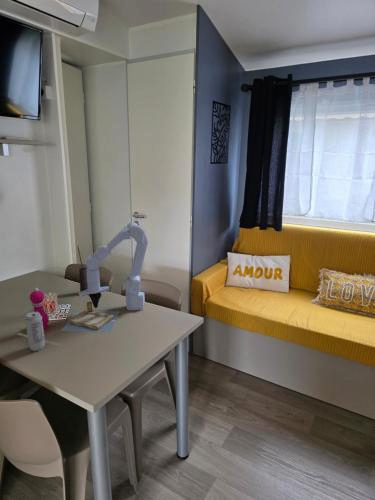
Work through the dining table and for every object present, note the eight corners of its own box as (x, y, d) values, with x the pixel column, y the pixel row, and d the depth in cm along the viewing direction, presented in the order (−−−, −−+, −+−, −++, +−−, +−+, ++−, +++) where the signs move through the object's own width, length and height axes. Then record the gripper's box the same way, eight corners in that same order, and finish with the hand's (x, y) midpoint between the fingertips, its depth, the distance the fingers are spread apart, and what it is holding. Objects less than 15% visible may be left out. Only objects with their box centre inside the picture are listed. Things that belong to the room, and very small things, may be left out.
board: (119, 312, 167) (119, 311, 167) (110, 333, 148) (110, 331, 147) (75, 312, 167) (75, 310, 167) (60, 332, 148) (60, 331, 148)
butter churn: (97, 289, 196) (93, 243, 188) (93, 296, 187) (89, 247, 179) (81, 289, 196) (77, 243, 188) (76, 296, 186) (72, 247, 179)
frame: (113, 317, 160) (113, 306, 158) (97, 329, 149) (97, 317, 147) (86, 311, 166) (85, 300, 164) (69, 322, 155) (68, 310, 153)
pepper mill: (33, 334, 146) (27, 292, 141) (32, 327, 152) (26, 286, 147) (50, 331, 149) (45, 289, 144) (49, 324, 156) (44, 283, 150)
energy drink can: (40, 342, 140) (36, 309, 136) (48, 347, 137) (44, 313, 133) (26, 348, 136) (21, 314, 132) (33, 353, 132) (29, 319, 128)
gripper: (105, 275, 168) (106, 300, 171) (76, 281, 160) (78, 307, 164) (110, 280, 162) (111, 305, 166) (80, 286, 154) (82, 312, 158)
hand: (95, 307), depth 164 cm, fingers closed
